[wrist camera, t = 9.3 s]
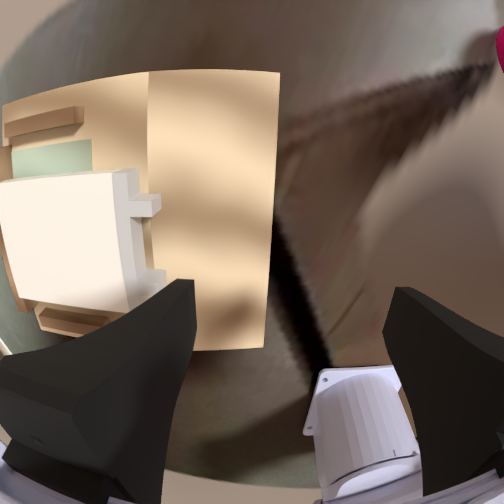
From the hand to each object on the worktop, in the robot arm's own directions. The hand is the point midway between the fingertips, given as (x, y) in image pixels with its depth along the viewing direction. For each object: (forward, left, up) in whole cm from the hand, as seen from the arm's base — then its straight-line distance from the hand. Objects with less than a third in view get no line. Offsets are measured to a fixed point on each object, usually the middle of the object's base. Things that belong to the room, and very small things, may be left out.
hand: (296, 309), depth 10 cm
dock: (0, +10, -9) cm, 14 cm away
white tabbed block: (0, +13, -7) cm, 15 cm away
